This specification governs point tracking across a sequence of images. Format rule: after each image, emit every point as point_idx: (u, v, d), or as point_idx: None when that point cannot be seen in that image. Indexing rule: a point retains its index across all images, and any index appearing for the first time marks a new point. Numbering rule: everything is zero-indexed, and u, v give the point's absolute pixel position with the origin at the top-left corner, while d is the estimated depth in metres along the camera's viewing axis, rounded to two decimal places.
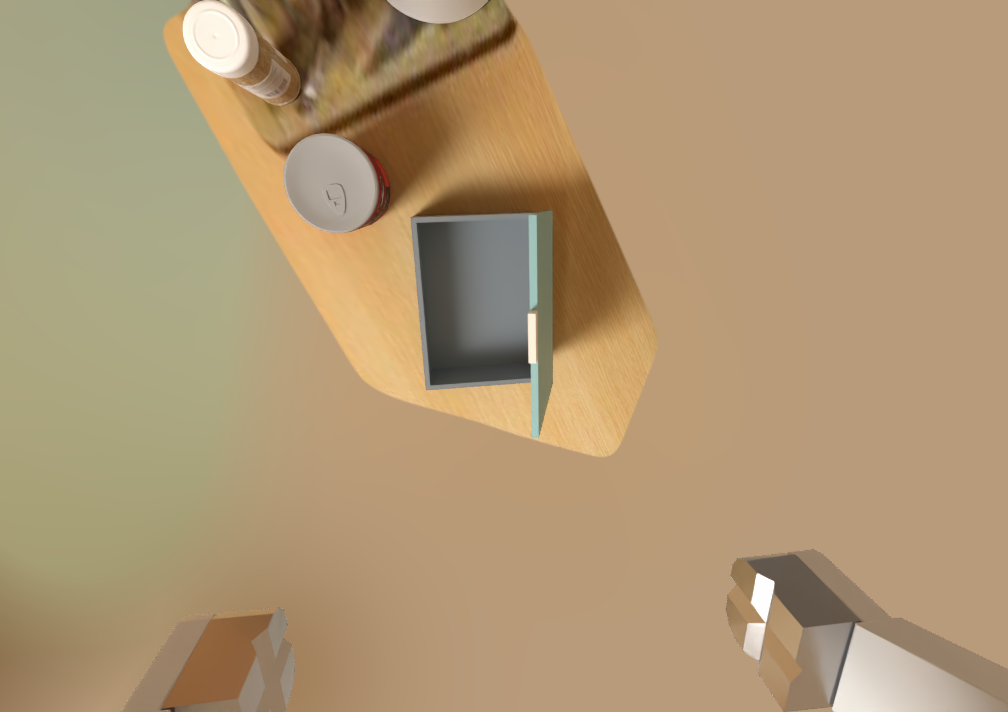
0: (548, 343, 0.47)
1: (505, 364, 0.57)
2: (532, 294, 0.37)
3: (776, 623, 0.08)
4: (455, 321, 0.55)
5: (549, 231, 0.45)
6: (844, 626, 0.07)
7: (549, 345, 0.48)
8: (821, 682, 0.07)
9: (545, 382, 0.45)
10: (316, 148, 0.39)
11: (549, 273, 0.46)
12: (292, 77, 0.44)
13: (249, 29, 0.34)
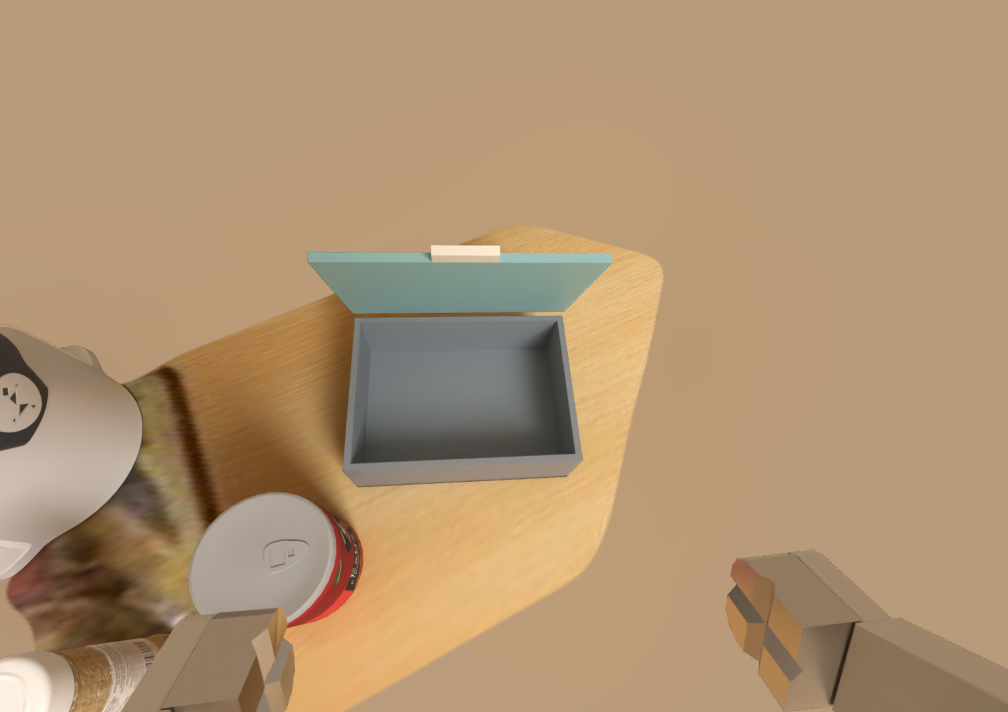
0: None
1: (550, 376, 0.45)
2: (410, 258, 0.28)
3: (776, 623, 0.08)
4: (495, 437, 0.43)
5: None
6: (844, 626, 0.07)
7: None
8: (821, 682, 0.07)
9: None
10: (209, 577, 0.27)
11: None
12: (144, 638, 0.32)
13: (4, 657, 0.23)
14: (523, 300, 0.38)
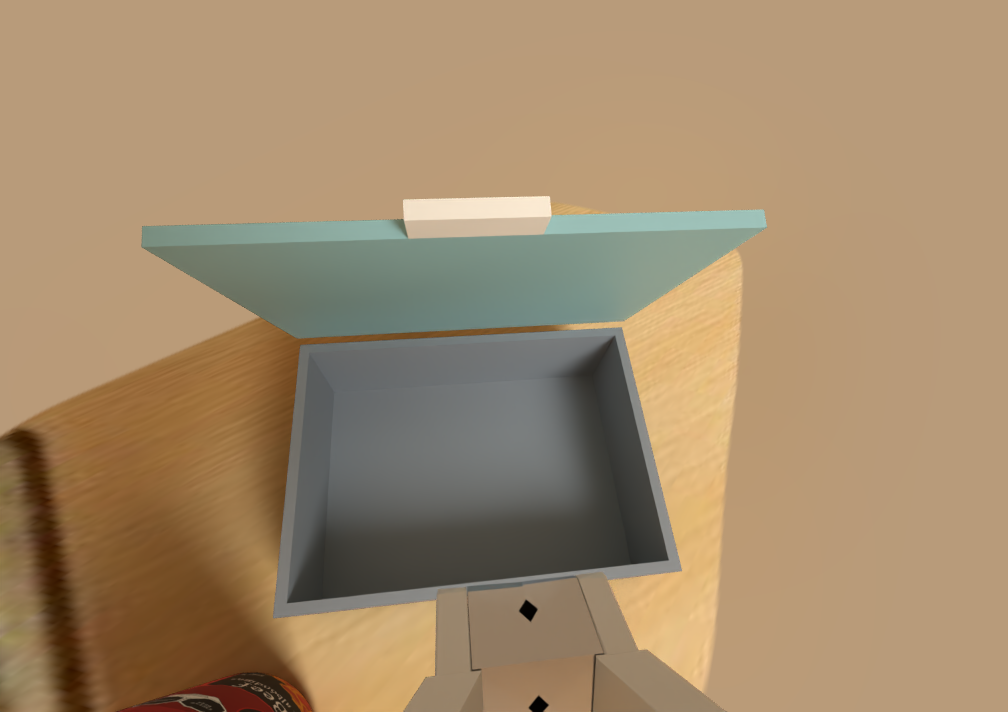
0: None
1: (602, 416, 0.31)
2: (363, 232, 0.14)
3: None
4: (526, 517, 0.28)
5: None
6: (586, 658, 0.07)
7: None
8: None
9: None
10: None
11: None
12: None
13: None
14: (568, 307, 0.23)
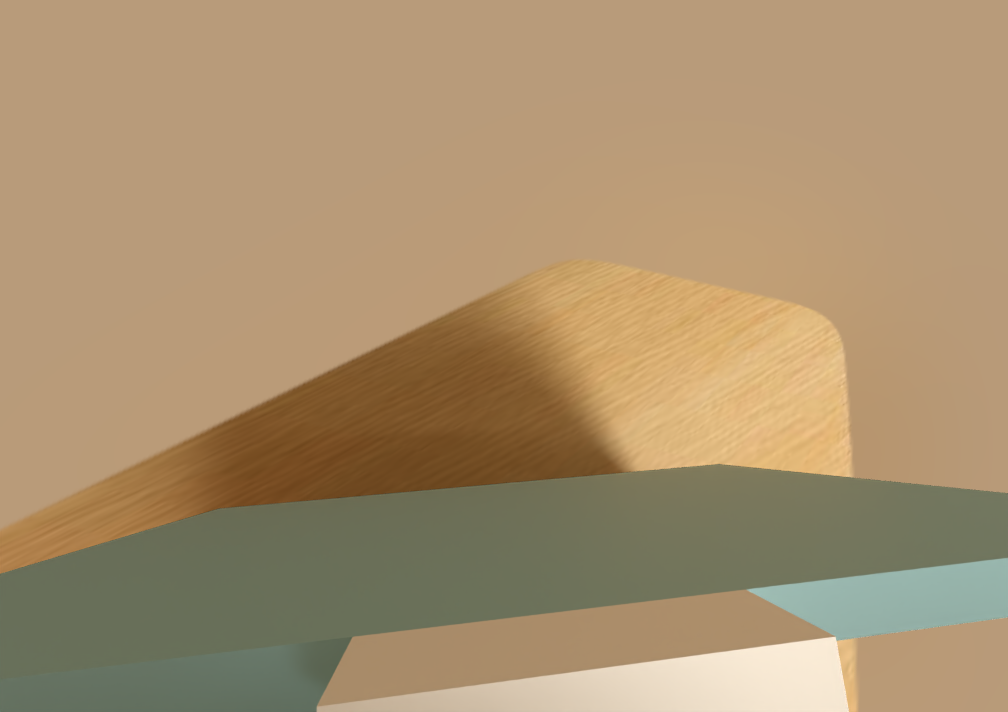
0: (607, 490, 0.13)
1: None
2: (210, 699, 0.04)
3: None
4: None
5: (230, 519, 0.13)
6: None
7: (613, 485, 0.15)
8: None
9: (772, 492, 0.11)
10: None
11: (371, 507, 0.14)
12: None
13: None
14: None
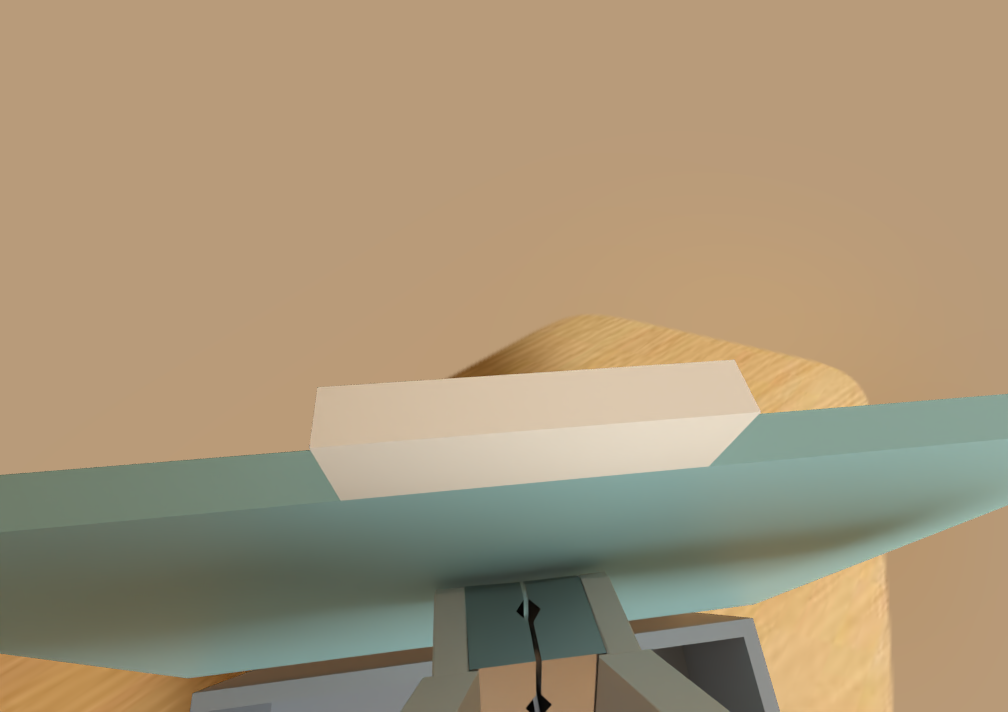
0: None
1: None
2: (214, 491, 0.05)
3: (534, 653, 0.07)
4: None
5: None
6: (590, 658, 0.07)
7: None
8: None
9: None
10: None
11: None
12: None
13: None
14: (677, 596, 0.13)
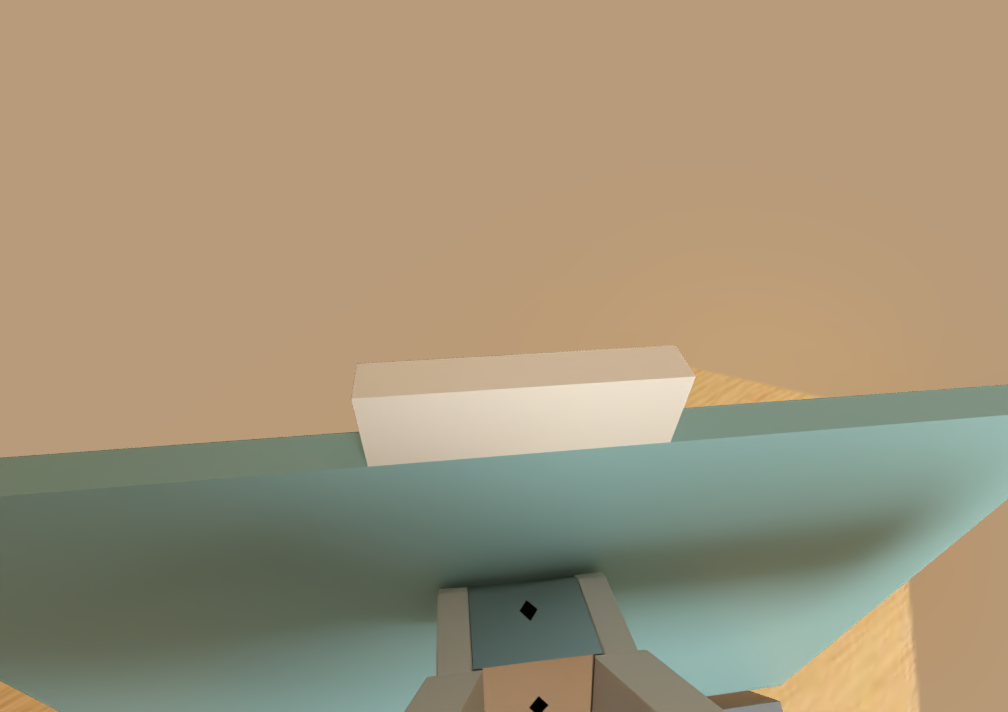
0: None
1: None
2: (267, 460, 0.06)
3: None
4: None
5: None
6: (586, 659, 0.07)
7: None
8: None
9: None
10: None
11: None
12: None
13: None
14: (690, 658, 0.12)
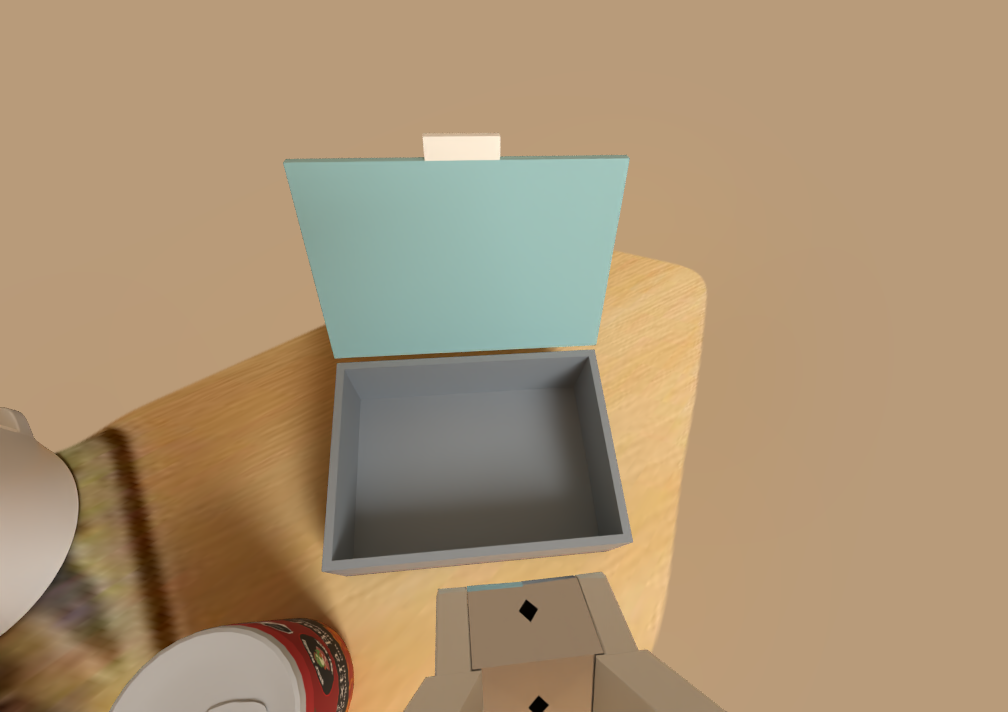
0: None
1: (580, 421, 0.37)
2: (400, 159, 0.25)
3: None
4: (516, 503, 0.34)
5: None
6: (587, 658, 0.07)
7: None
8: None
9: None
10: None
11: None
12: None
13: None
14: (541, 300, 0.31)
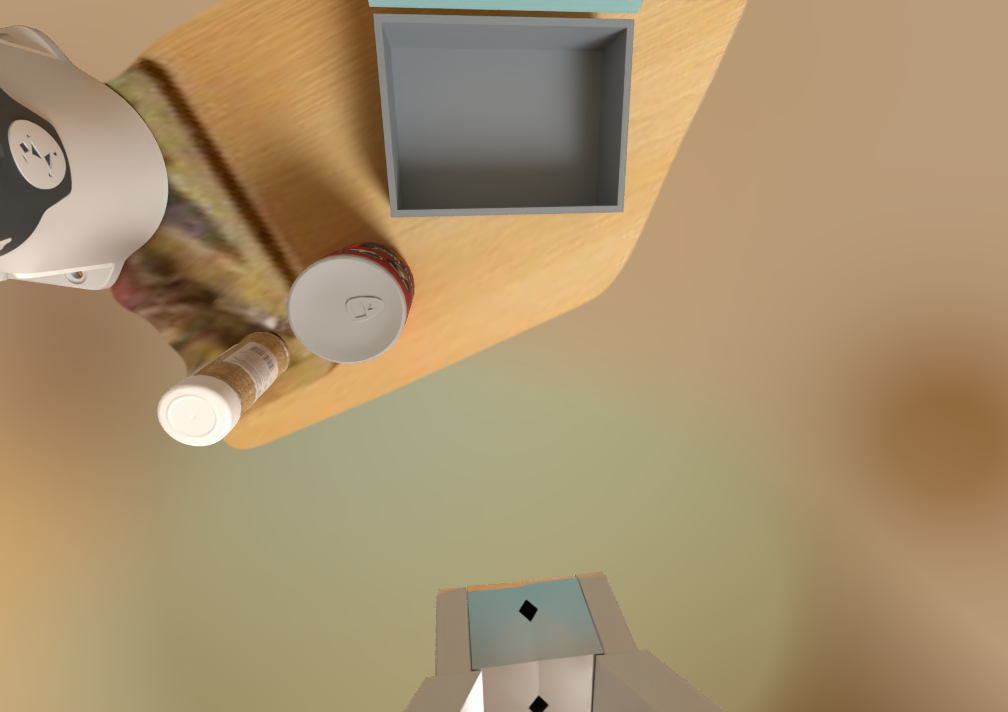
0: None
1: (602, 92, 0.39)
2: None
3: None
4: (534, 167, 0.41)
5: None
6: (587, 658, 0.07)
7: None
8: None
9: None
10: (307, 324, 0.33)
11: None
12: (253, 340, 0.40)
13: (180, 383, 0.31)
14: None
